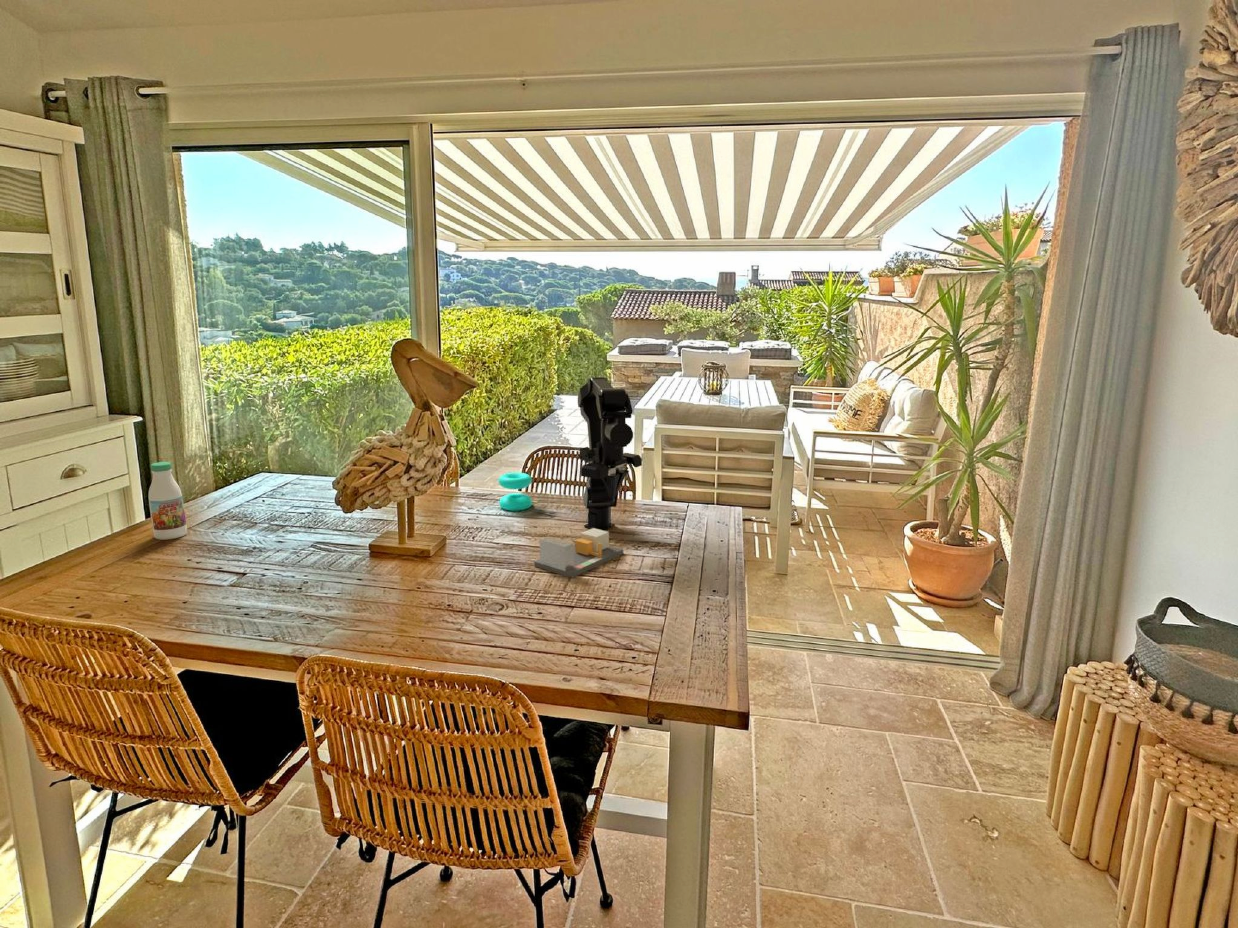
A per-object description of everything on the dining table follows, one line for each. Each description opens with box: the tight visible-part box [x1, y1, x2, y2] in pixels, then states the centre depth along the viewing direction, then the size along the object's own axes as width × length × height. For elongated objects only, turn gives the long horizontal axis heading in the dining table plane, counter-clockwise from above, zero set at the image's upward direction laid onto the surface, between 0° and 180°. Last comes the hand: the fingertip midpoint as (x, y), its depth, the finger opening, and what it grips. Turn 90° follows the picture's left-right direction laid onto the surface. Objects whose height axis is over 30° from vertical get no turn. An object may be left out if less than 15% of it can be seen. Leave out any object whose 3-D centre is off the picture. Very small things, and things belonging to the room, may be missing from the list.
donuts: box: [498, 472, 533, 512], centre depth 222 cm, size 10×10×10 cm
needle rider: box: [574, 537, 602, 557], centre depth 180 cm, size 2×8×4 cm, turn 53°
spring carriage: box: [580, 528, 610, 552], centre depth 184 cm, size 5×5×4 cm
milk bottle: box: [147, 461, 188, 540], centre depth 193 cm, size 8×8×20 cm
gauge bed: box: [533, 536, 624, 579], centre depth 180 cm, size 20×12×7 cm, turn 143°
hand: (611, 497), depth 188 cm, fingers closed
